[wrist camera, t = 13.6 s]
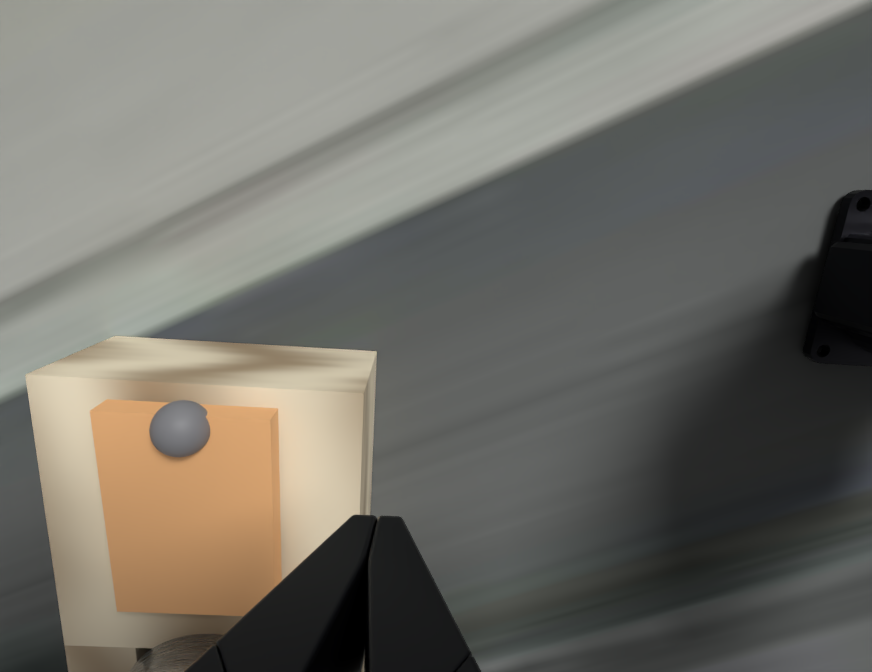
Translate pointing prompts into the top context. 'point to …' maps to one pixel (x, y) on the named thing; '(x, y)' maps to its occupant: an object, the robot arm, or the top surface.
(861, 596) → the top surface
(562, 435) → the top surface
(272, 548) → the orange knobbed panel
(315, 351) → the block
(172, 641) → the silver metal cylinder
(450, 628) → the robot arm
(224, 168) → the top surface
